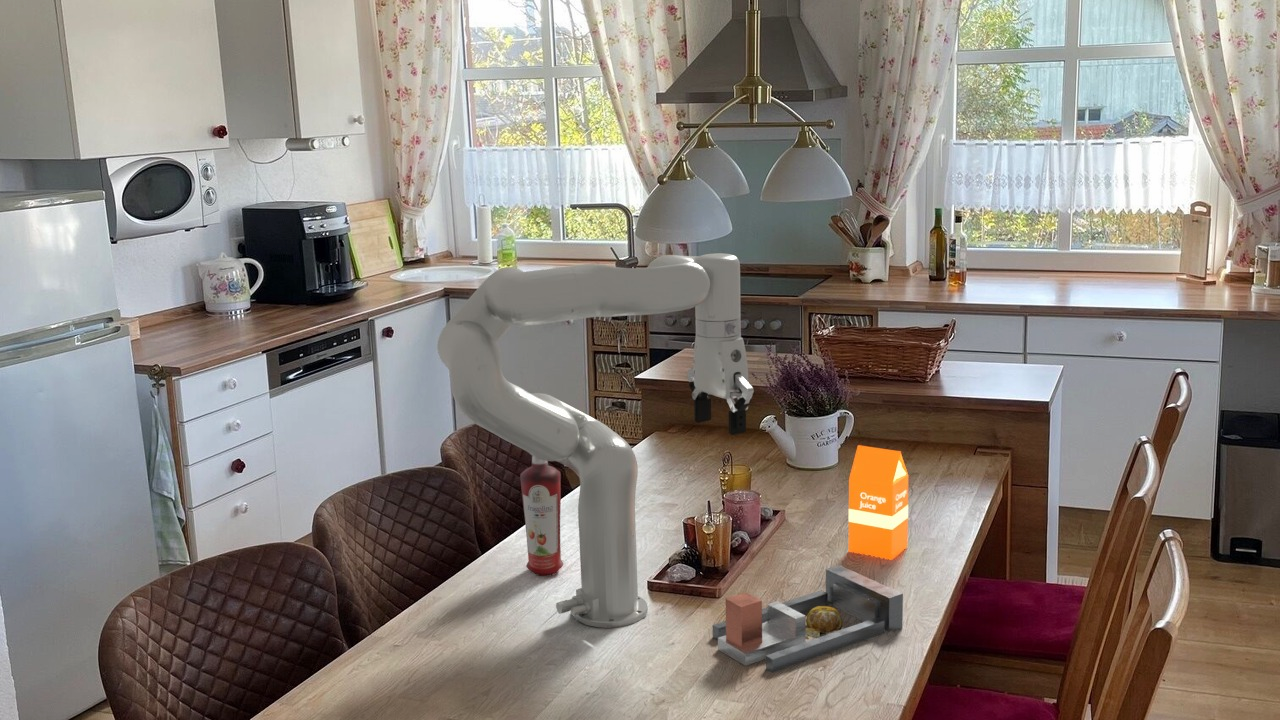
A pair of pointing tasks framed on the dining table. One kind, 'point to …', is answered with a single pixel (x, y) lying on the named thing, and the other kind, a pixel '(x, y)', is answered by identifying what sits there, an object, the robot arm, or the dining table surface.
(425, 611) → the dining table surface
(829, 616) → the fruit
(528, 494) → the liquor
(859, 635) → the press frame
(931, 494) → the dining table surface
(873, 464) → the orange juice
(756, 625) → the ram
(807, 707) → the dining table surface
